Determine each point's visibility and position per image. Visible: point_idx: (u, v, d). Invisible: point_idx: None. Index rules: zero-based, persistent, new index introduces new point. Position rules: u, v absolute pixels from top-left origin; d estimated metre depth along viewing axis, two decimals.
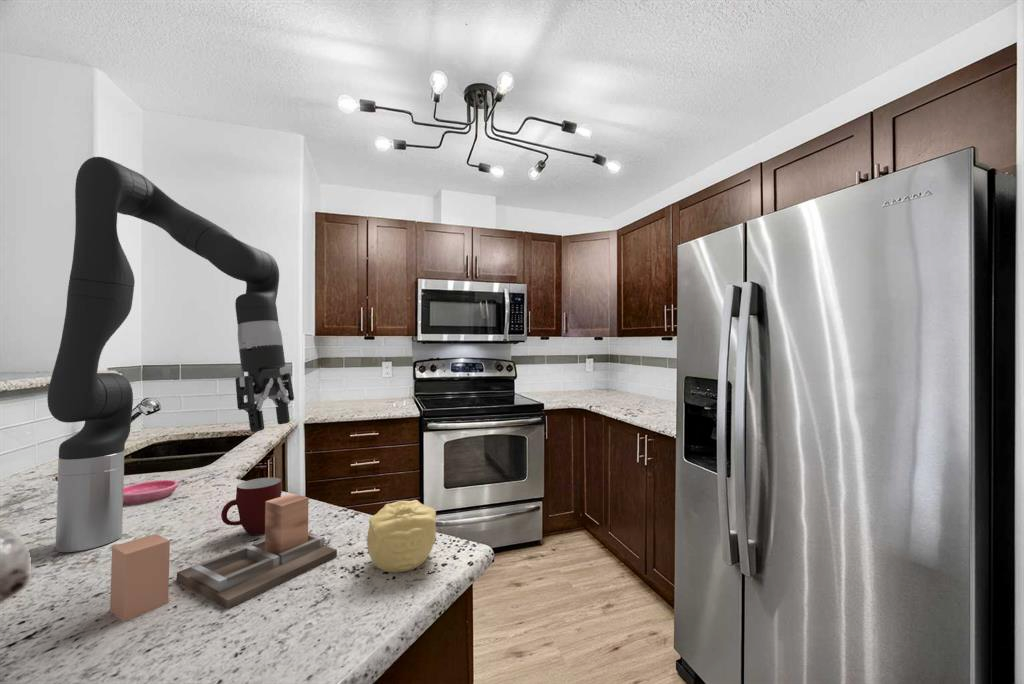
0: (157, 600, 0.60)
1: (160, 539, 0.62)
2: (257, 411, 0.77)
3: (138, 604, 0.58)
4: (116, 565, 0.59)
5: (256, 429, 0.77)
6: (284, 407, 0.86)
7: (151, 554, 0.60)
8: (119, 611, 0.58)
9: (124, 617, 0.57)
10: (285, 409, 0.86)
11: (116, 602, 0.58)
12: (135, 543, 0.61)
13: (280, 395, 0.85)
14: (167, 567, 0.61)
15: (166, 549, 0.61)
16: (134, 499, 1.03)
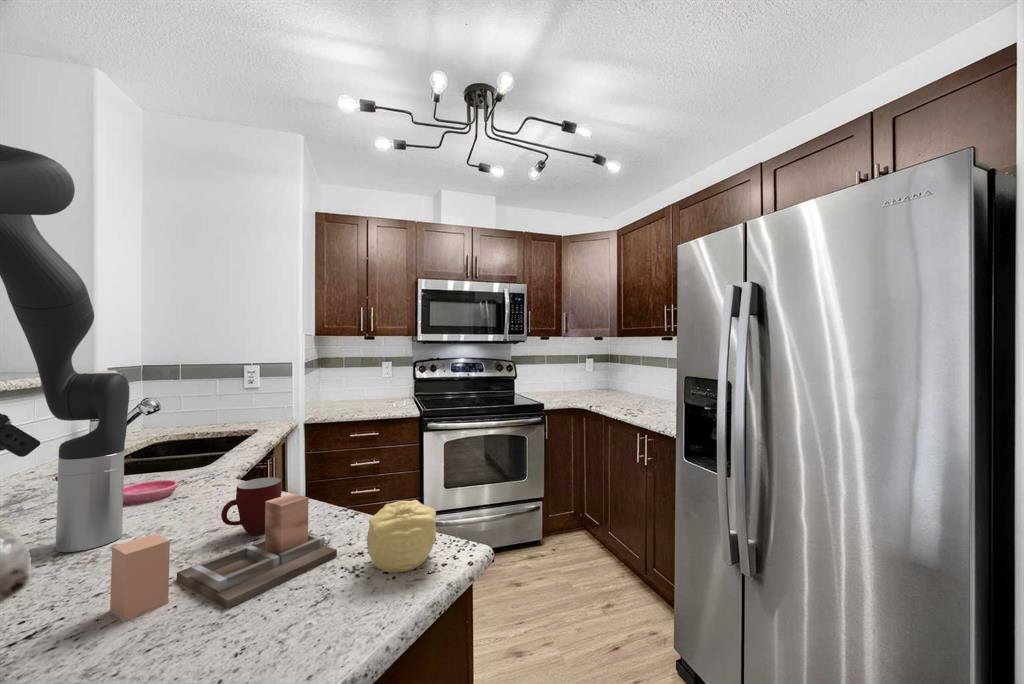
0: (157, 600, 0.60)
1: (160, 539, 0.62)
2: None
3: (138, 604, 0.58)
4: (116, 565, 0.59)
5: None
6: None
7: (151, 554, 0.60)
8: (119, 611, 0.58)
9: (124, 617, 0.57)
10: None
11: (116, 602, 0.58)
12: (135, 543, 0.61)
13: None
14: (167, 567, 0.61)
15: (166, 549, 0.61)
16: (134, 499, 1.03)
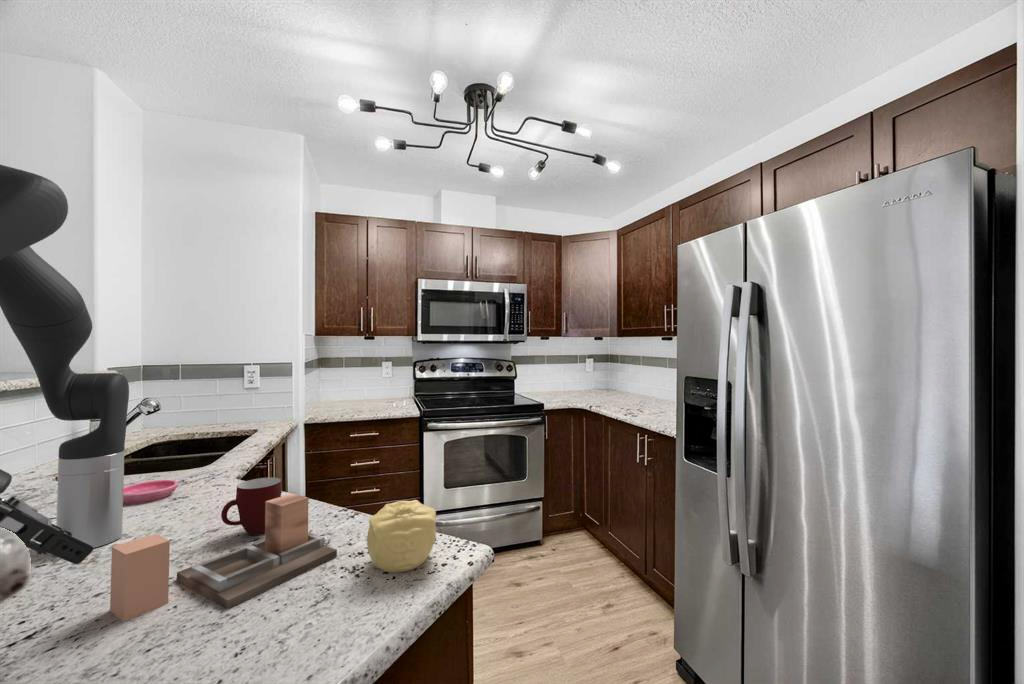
0: (157, 600, 0.60)
1: (160, 539, 0.62)
2: None
3: (138, 604, 0.58)
4: (116, 565, 0.59)
5: None
6: None
7: (151, 554, 0.60)
8: (119, 611, 0.58)
9: (124, 617, 0.57)
10: None
11: (116, 602, 0.58)
12: (135, 543, 0.61)
13: None
14: (167, 567, 0.61)
15: (166, 549, 0.61)
16: (134, 499, 1.03)
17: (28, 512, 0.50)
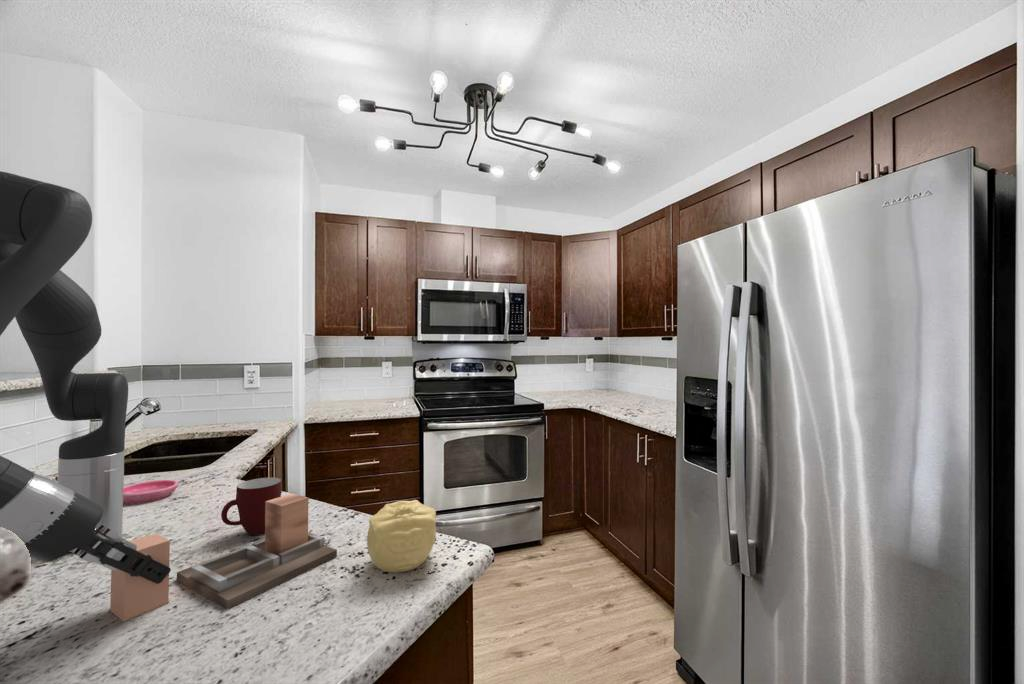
0: (157, 600, 0.60)
1: (160, 538, 0.62)
2: None
3: (138, 604, 0.58)
4: None
5: None
6: None
7: (151, 554, 0.60)
8: (119, 610, 0.58)
9: (124, 617, 0.57)
10: None
11: (116, 602, 0.58)
12: (135, 543, 0.61)
13: None
14: None
15: (166, 549, 0.61)
16: (134, 499, 1.03)
17: (119, 540, 0.57)
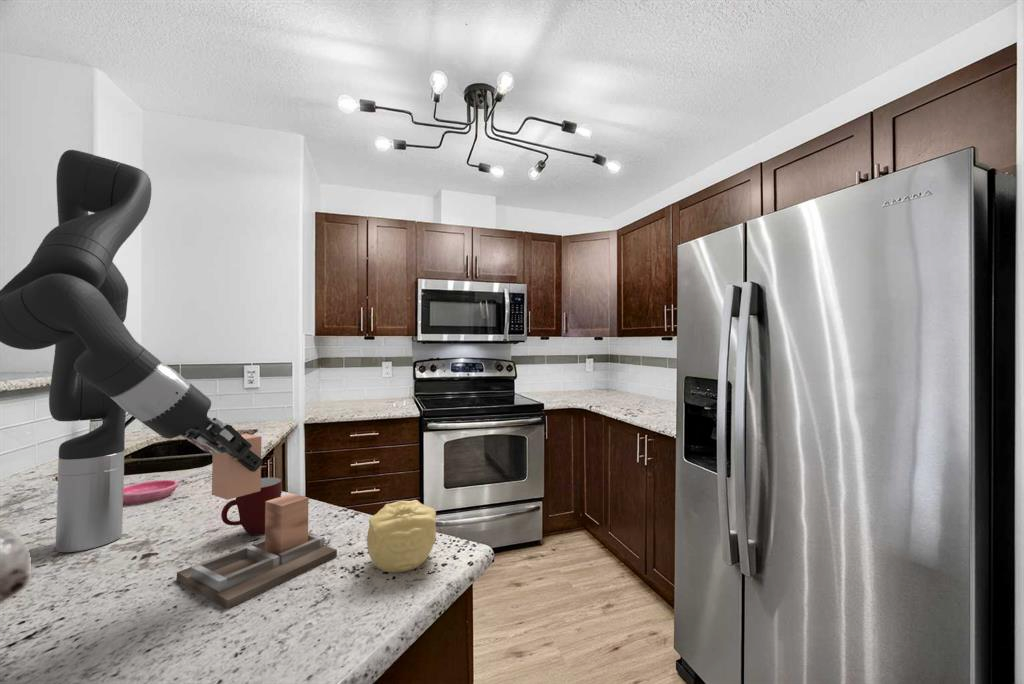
0: (252, 487, 0.68)
1: (252, 435, 0.70)
2: None
3: (238, 487, 0.66)
4: None
5: None
6: None
7: None
8: (222, 492, 0.66)
9: (228, 496, 0.65)
10: None
11: (219, 485, 0.66)
12: None
13: None
14: None
15: (259, 443, 0.69)
16: (134, 499, 1.03)
17: None
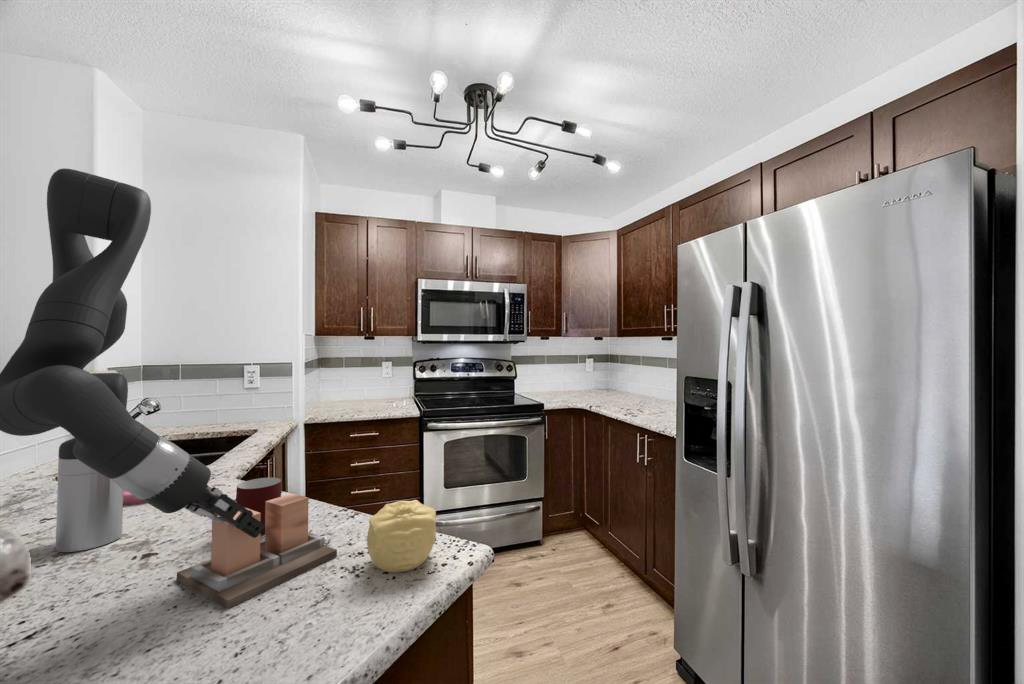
0: None
1: None
2: None
3: (237, 568, 0.66)
4: (217, 533, 0.66)
5: None
6: None
7: None
8: (221, 573, 0.65)
9: None
10: None
11: (218, 566, 0.66)
12: None
13: None
14: (259, 536, 0.69)
15: (258, 520, 0.69)
16: (134, 499, 1.03)
17: None
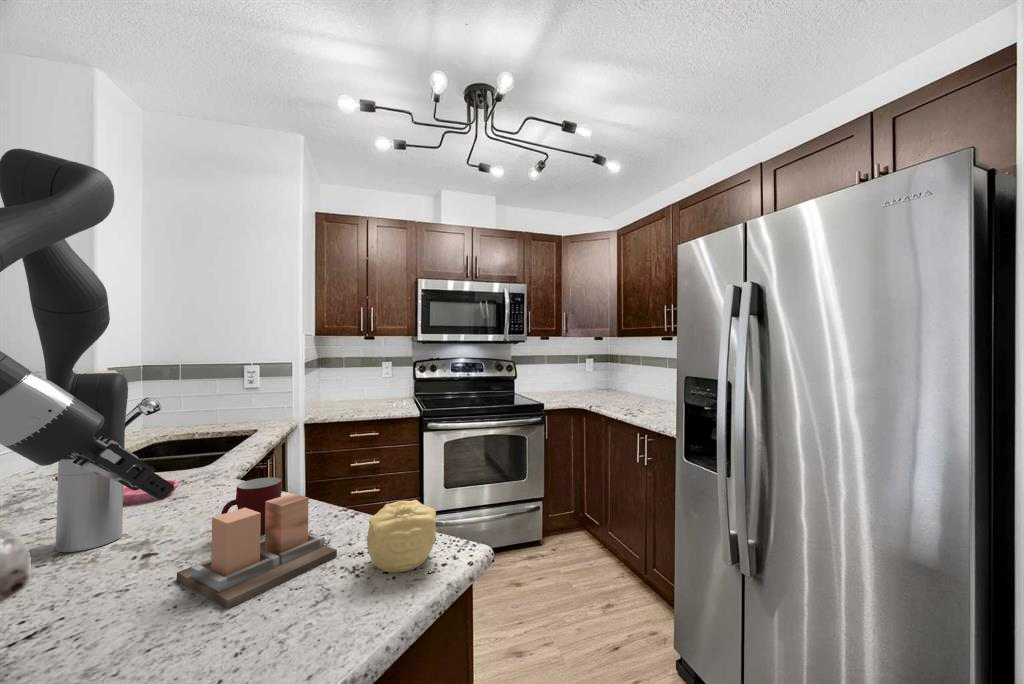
0: None
1: (251, 511, 0.69)
2: None
3: (237, 568, 0.66)
4: (217, 533, 0.66)
5: None
6: None
7: (246, 524, 0.67)
8: (221, 573, 0.65)
9: None
10: None
11: (218, 566, 0.66)
12: (231, 514, 0.68)
13: None
14: (259, 536, 0.69)
15: (258, 520, 0.69)
16: (134, 499, 1.03)
17: None
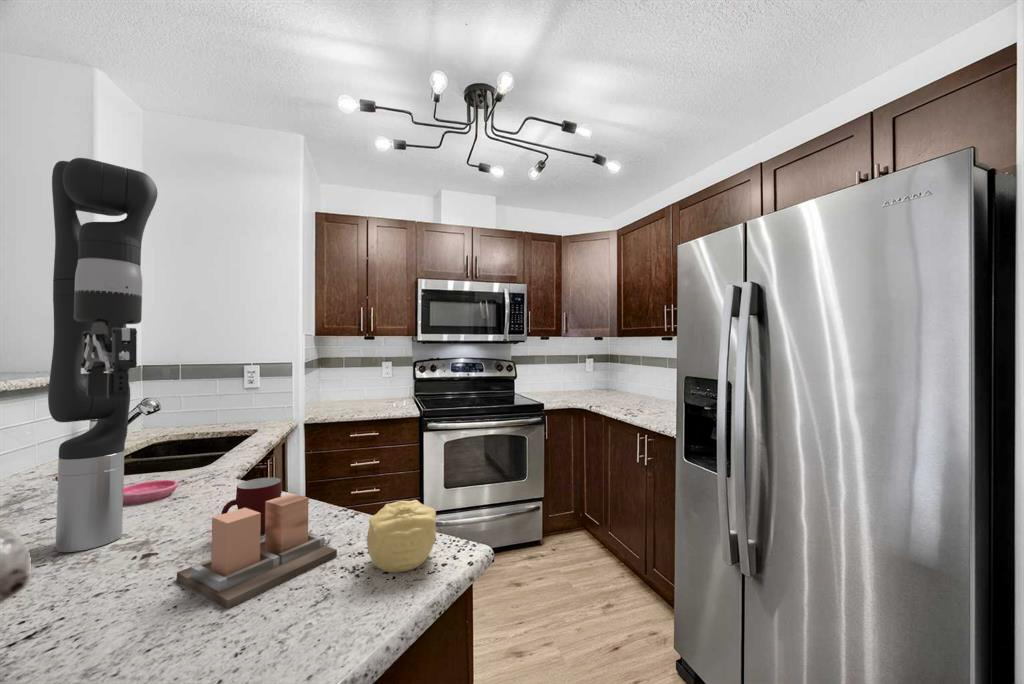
0: None
1: (251, 511, 0.69)
2: None
3: (237, 568, 0.66)
4: (217, 533, 0.66)
5: None
6: None
7: (246, 524, 0.67)
8: (221, 573, 0.65)
9: None
10: None
11: (218, 566, 0.66)
12: (231, 514, 0.68)
13: None
14: (259, 536, 0.69)
15: (258, 520, 0.69)
16: (134, 499, 1.03)
17: None
